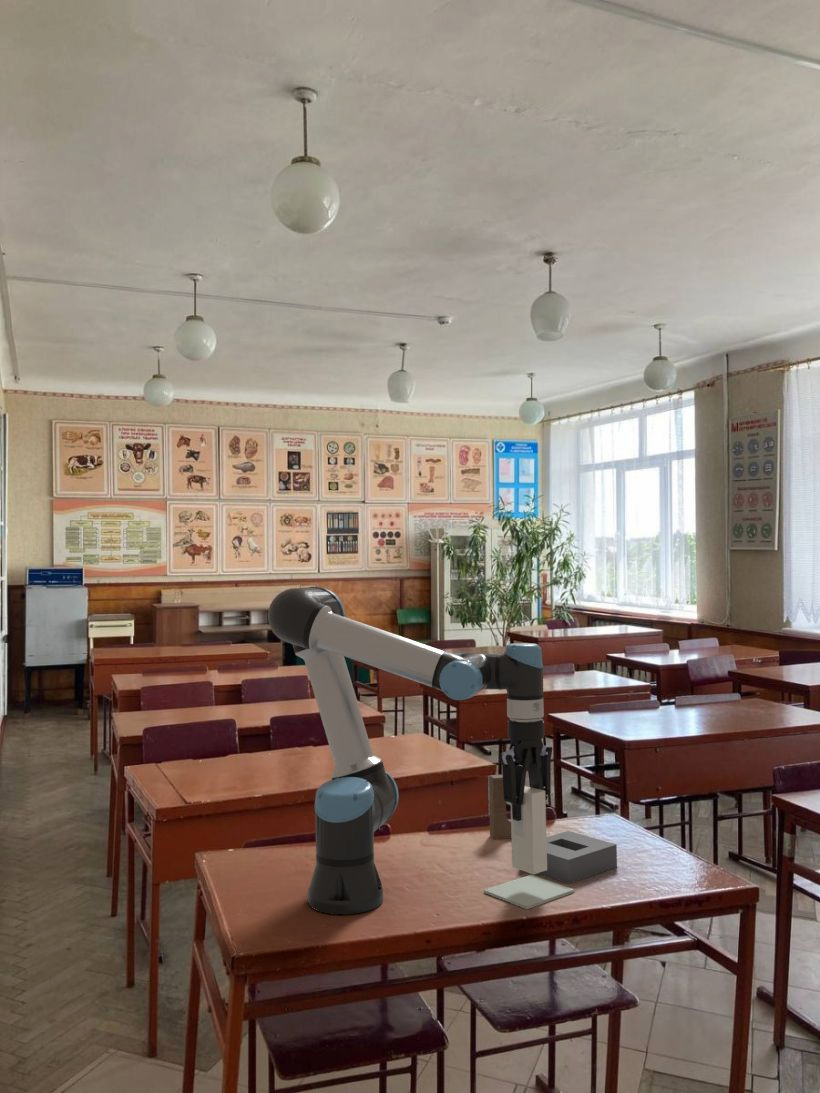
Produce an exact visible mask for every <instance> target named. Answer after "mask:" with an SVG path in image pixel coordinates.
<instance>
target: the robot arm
mask: <svg viewBox="0 0 820 1093" xmlns="http://www.w3.org/2000/svg"><path fill="white" fill-rule="evenodd" d="M267 612H268V613H267V620H268V625H269V628H270V630H272V633H273V634H274V635H275V636H276V637H277V638H278V639H280V640H281V641H284V642H285V643H288V644H291V645H292V647H293V651H294V654H295V656H297V657H299V658H300V659H303V661H304V663H305V667H306V670H307V671H306V672H307V674H308V679H309V681H310V685H311V688H312V691H313V694H314V698H315V701H316V704H317V707H318V712H319V715H320V718H321V722H322V725H323V728H324V731H325V735H326V740H327V742H328V747H329V749H330V753H331V757H332V760H333V762H334V769H333V771H332V773H331V774H330V778H331V779H330V780H327V781H326V782H323V783H322V784H321V785H320V786H318V788H317V789H316V792H315V800H314V812H315V813H314V816H315V817H314V818H315V820H314V822H315V866H314V869H313V872H312V876H311V880H310V883H309V887H308V890H307V904H308V903H309V905H310V906H311V907H313V908H315V909H317V910H319V911H322V912H326V913H325V914H327V913H333V914H332V915H337V914H345V915H355V913H356V914H361V913H366V912H368V911H371V910H374V909H376V908H378V907H379V906H381V905H382V904H383V902H384V887H383V884H382V881H381V878H380V875H379V872H378V869H377V867H376V863H375V851H374V850H375V848H374V847H375V846H374V844H375V843H374V842H375V840H374V836H375V835H374V833H375V832H376V831H377V830H378V829H379V828H380V827H382V826H383V825H384V824H386V823H387V822H389V820H390V819H391V818H392V816H393V814H394V813H395V811H396V809H397V807H398V803H399V797H400V796H399V788H398V785H397V782H396V780H395V779H394V778H393V776H392V775H391V774H389V773H388V772H387V771H386V769H385V766H384V762H383V759H382V758H380V757H378V756H377V755H375V754H374V752H373V750H372V746H371V742H370V740H369V737H368V733H367V729H366V726H365V723H364V720H363V716H362V713H361V709H360V706H359V703H358V699H357V695H356V692H355V689H354V687H353V685H354V684H353V682H352V679H351V675H350V672H349V669H348V665H347V662H346V659H345V658H348V659H351V660H353V661H356V662H359V663H362V664H366V665H368V666H372V667H374V668H377V669H378V670H379V669H380V670H382V671H385V672H387V673H391V674H394V675H396V676H399V677H402V678H405V679H408V680H411V681H413V682H417V683H418V684H419V683H420V684H422V685H425V686H427V687H430V688H433V689H436V690H438V691H441V692H442V693H443V694H445V695H446V696H447V697H448V698H450V699H452V700H454V701H463V700H468V699H470V698H473V697H475V696H476V695H477V694H478V693H479V692H480V691H482V690H484V691H485V690H501V691H502V690H506V713H507V714H506V716H507V718H509V719H508V720H507V737H508V739H509V740H510V745H509V746H508V747H509V748H508V751H507V752H506V753H502V752H501V753H500V754H499V760H500V762H501V768H502V771H501V772H502V776H503V791H504V801H506V803H509V804H510V805H511V804H512V818H513V820H514V835H517V836H520V837H523V838H525V837H527V833H526V805H525V804H523V796H524V787H525V786H526V777H527V772H528V778H529V782H530V787H531V788H536V789H540V790H544V791H545V801H547V800H548V796H549V795H550V794H551V791H552V790H551V789H552V788H551V787H552V786H551V785H552V784H551V783H552V782H551V781H552V780H551V779H552V777H551V776H552V771H551V770H552V769H551V768H552V767H551V758H552V755H553V747H552V746H550V745H549V746H548V745H544V742H543V740H542V739H544V738H545V721H544V719H543V718H544V717H545V714H544V713H545V709H544V664H543V653H542V652H543V651H542V647H541V646H540V645H539V644H537V643H534V642H533V643H529V642H515V643H508V644H507V645H506V646H505V651H504V652H502V653H480V652H478V653H477V652H474V653H473V652H461V653H458V652H457V653H450V652H447V651H445V650H441V649H439V648H436V647H433V646H430V645H427V644H424V643H421V642H419V641H415V640H414V639H409V638H406V637H403V636H401V635H398V634H395V633H394V632H393V633H392V632H390V631H386V630H383V629H381V628H377V627H374V626H372V625H369V624H366V623H363V622H361V621H357V620H354V619H352V618H349V617H346V613H345V607H344V605H343V602H342V601H341V599H340V598H339V596H337V594H335V592H333V591H332V590H330V589H326V588H323V587H321V586H320V587H318V586H308V587H293V588H288V589H285V590H283V591H281V592H279V593H278V594H277V595H276V596H275V597H273V599H272V601H271V603H270V605H269V608H268V611H267ZM516 797H517V798H516ZM309 905H308V906H309ZM310 906H309V907H310ZM311 907H310V908H311ZM319 911H318V912H319ZM322 912H321V913H322Z"/></svg>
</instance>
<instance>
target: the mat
mask: <svg viewBox="0 0 820 1093" xmlns="http://www.w3.org/2000/svg"><path fill="white" fill-rule="evenodd" d="M483 893H484V894H486V895H488V896H491V897H494V898H496V899H499V900H501V899H502V900H501V901H504V900H505V901H504V902H506V901H507V903H509V902H510V904H512V905H515V906H517V907H519V906H520V908H523V909H525V910H530V909H531V908H534V906H535V907H538V906H540V905H543V904H546V903H549V902H551V901H553V900H557V899H560V898H562V897H565V896H567V895H570V894H573V893H575V889H574V888H571V887H570V886H569V887H568V886H566V885H563V884H561V883H557V882H554V881H550V880H548V879H545V878H543V877H539V876H536V875H535V874H529V875H525V876H522V877H518V878H517V879H513V880H510V881H507V882H504V883H502V884H497V885H495V886H492V887H489V888H485V889H484V890H483Z"/></svg>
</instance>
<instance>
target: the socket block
mask: <svg viewBox="0 0 820 1093" xmlns="http://www.w3.org/2000/svg"><path fill="white" fill-rule="evenodd" d="M546 840H547V870H546V871H543V872H540V873H537V874H538V875H541V876H545V877H548V878H550V879H554V880H557V881H559V882H562V883H565V884H569V885H570V884H573V883H576V882H578V881H581V880H584V879H587V878H591V877H592V876H595V875H598V874H601V873H605V872H607V871H610V870H612V869H616V868H618V855H617V854H618V853H617V848H618V847H617V845H618V844H616V843H613V842H610V841H605V840H603V839H602V840H601V839H598V838H595V837H591V836H588V835H584V834H580V833H577V832H572V831H570V830H567V831H563V832H560V833H556V834H554V835H549V836H546Z"/></svg>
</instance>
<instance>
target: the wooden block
mask: <svg viewBox="0 0 820 1093" xmlns="http://www.w3.org/2000/svg"><path fill="white" fill-rule="evenodd" d="M488 789H489V790H488V791H489V792H488V793H489V794H488V798H489V800H488V801H489V837H491V838H492V839H494V840H503V839H512V837H511V818H508V817H507V802H506V801H504V791H503V774H493V775H491V774H490V775H488Z"/></svg>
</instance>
